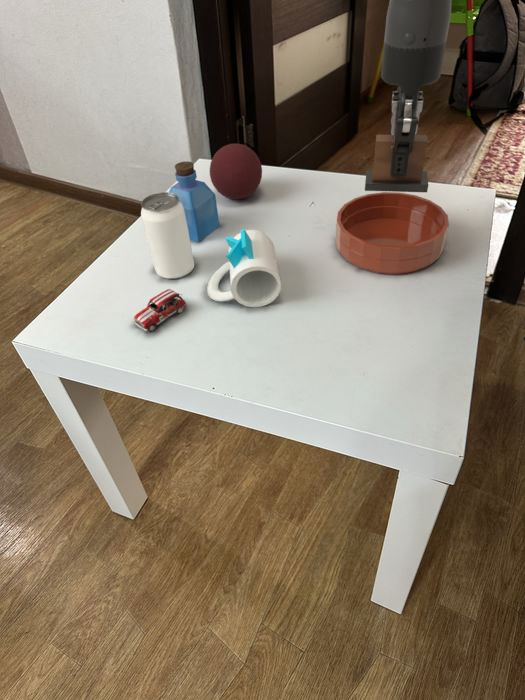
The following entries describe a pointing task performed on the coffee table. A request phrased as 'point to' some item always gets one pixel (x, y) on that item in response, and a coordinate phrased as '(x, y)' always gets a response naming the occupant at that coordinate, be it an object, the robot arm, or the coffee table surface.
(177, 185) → the perfume bottle
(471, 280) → the coffee table surface
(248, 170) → the decorative ball
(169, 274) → the can
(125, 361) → the coffee table surface
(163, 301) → the toy car
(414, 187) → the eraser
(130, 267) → the coffee table surface
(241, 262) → the mug
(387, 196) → the bowl
